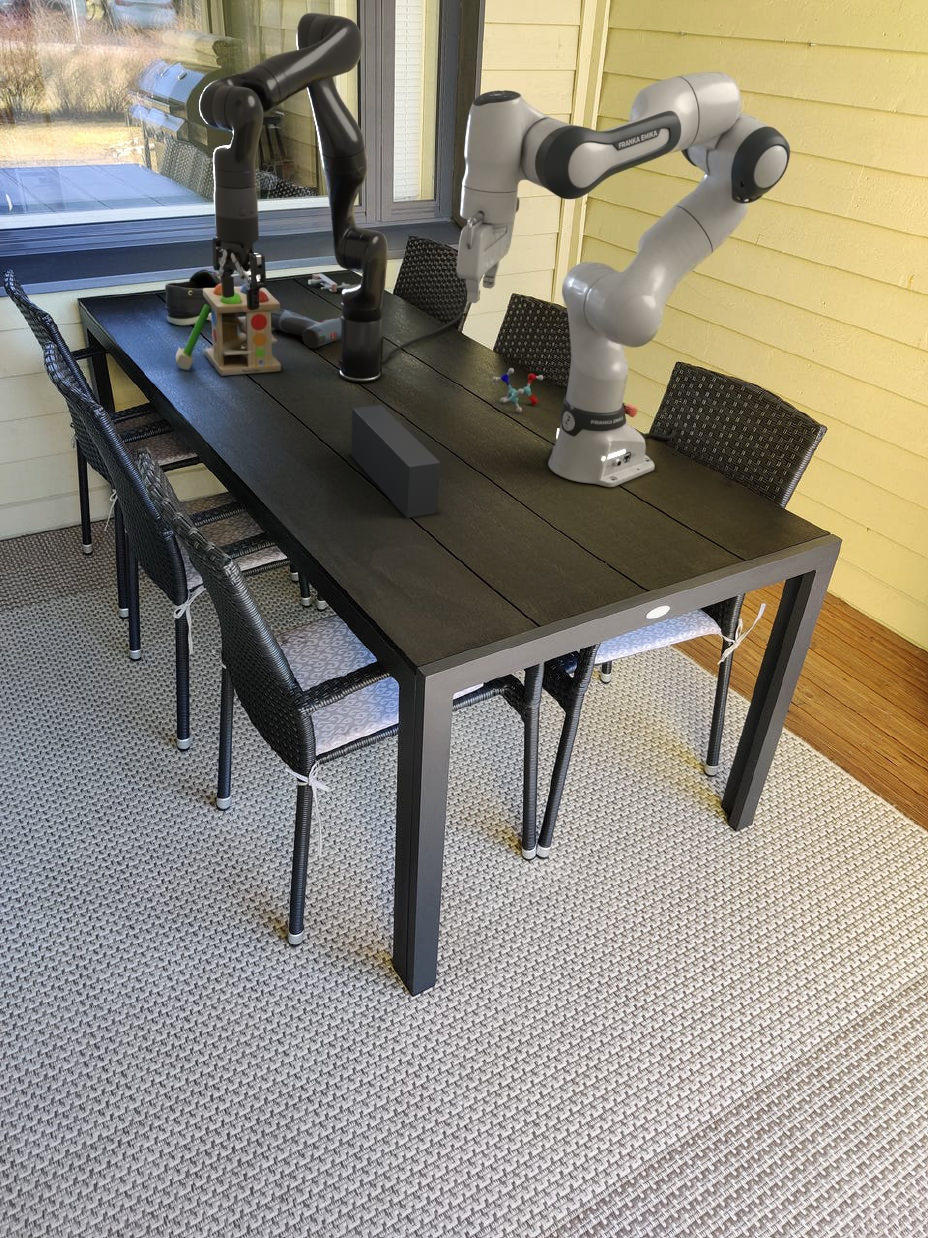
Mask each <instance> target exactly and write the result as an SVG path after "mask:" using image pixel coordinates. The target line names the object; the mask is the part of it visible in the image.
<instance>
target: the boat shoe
mask: <svg viewBox="0 0 928 1238" xmlns="http://www.w3.org/2000/svg"><path fill="white" fill-rule="evenodd" d="M232 276H233V277H234V287H242V286H243V285H244V284H245V282H244V280H243V279H242V278H240V276H239V274H235V275H232ZM249 280H250V282H251V277H249ZM221 283H222V281H221V276H219V272H218V273H217V271H212V270H207V269H200V270H198V271H196V272H194V273H193V274H192V275H191V276H190V278H189V279H188V280H187V281H180V282H167V283H166V284H165V285H164V289H165V295H166V296H165V306H164V310H165V311H166V312H167V313H166V318H167V322H168V323H170V324H173V325H176V326H190V325H195V324H196V322H197V320H198V318H199V316H200V314H201V311H202V309H203V307H204V305H208V306H210V307H211V305H210V304H209V302H208V301H207V300H206V299H205V297H204V296H203V289H204V288H215V287H216V286H217V285H218V284H221ZM209 314H211V310H210V312H209ZM206 321H210V320H209V318H207V320H206Z"/></svg>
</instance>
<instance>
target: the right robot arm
mask: <svg viewBox="0 0 928 1238" xmlns="http://www.w3.org/2000/svg"><path fill="white" fill-rule="evenodd" d="M741 109H742V95H741V90H740V88H739V85H738V83H737V82H736V80H735V79H734V78H733V77H732V76H730V75H729V74H727V73H725V72H720V71H705V72H704V71H703V72H693V73H687V74H681V75H676V76H673V77H669V78H665V79H662V80H659V81H657V82H653V83H652V84H650V85H647V86H646V87H644V88H642V89H641V90H639V92H638V93H637V94H636V96H635V97H634V99H633V102H632V104H631V107H630V111H629V120H628V122H624V123H622V124H619V125H616V126H613V127H610V128H607V129H604V130H595V129H592V128H589V127H585V126H582V125H581V126H580V125H575V124H571V123H568V122H565V121H562V120H559V119H556V118H553V117H551V116H549V115H547V114H545V113H543V112H541V111H540V110H538V109H537V108H535V107H533V105H531V104H530V103H528V102H527V101H526V100H525V99H524V97H523V96H522V94H521V93H519V92H517V91H514V90H507V89H506V90H492V91H491V90H490V91H487V92H484V93H482V94H480V95H479V96H477V97H475V98H474V100H473V101H472V103H471V106H470V108H469V111H468V117H467V123H466V129H465V140H464V152H463V153H464V154H463V156H464V161H465V162H464V163H465V171H464V175H463V178H462V181H461V194H460V208H459V214H460V217H461V218H462V219H463V220H467V221H466V225H464V227H463V228H462V229H461V231H460V236H459V243H458V250H457V251H458V252H457V259H456V276H457V277H458V278H459V279H462V280H465V286H466V287H465V288H466V292H467V294H466V295H467V296H466V301H467V302H468V303H470V304H477V303H478V302H479V301H480V299H481V290H480V282H481V280H482V287H483V288H485V289H490V290H491V289H493V288H494V287H495V285H496V277H497V273H498V270H499V267H500V261H501V260H502V259H503V258H504V257H506V256H507V255H508V253H509V250H510V248H511V244H512V238H513V231H514V226H515V220H516V214H517V213H518V212H519V210H520V205H521V204H520V202H521V200H520V197H519V196H518V194H519V193H518V191H519V184H520V182H521V181H528V182H530V183H532V184H534V185H536V186H539V187H542V188H544V189H546V190H547V191H548V192H551V193H552V194H553V195H554V196H557V197H558V198H560V199H563V200H576V199H580V198H582V197H584V196H586V195H587V194H589V193H590V192H592V191H593V190H595V188H596V187H598V186H600V184H602V183H603V182H604V181H606V180H607V179H608V178H610V177H612V176H614V175H616V174H619V173H621V172H624V171H627V170H630V169H632V168H635V167H638V166H640V165H643V164H645V163H646V164H647V163H649V162H651V161H653V160H656V159H658V158H661V157H663V156H665V155H670V154H673V153H677V152H681V154H682V155H683V157H684V158H685V159H686V160H687V161H688V163H689V164H691V165H692V166H694V167H696V168H698V169H700V170H701V171H702V172H703V173H704V174H703V176H702V178H701V180H700V182H699V183H698V185H696V188H695V189H693V190H692V191H690V192H689V193H688V194H686V196H684V197H683V198H681V199H680V200H679V201H678V202H677V203H676V204H674V205H673V206H672V207H671V208H670V209H669V210H668V211H667V212H665V214H663V215H662V216H661V217H660V218H659V219H657V221H655V223H653V224H652V225H651V226H649V228H647V230H645V231H644V232H643V233H642V235H641V236H640V237H639V240H638V244H637V247H638V249H637V250H638V251H637V253H636V255H635V256H634V257H633V259H632V260H631V262H630V263H629V265H628V266H627V267H626V268H625V269H624V270H623V271H619V270H617V269H616V268H614V267H612V266H610V265H609V264H606V263H601V262H595V261H583V262H580V263H578V264H575V265H574V266H573V267H572V268H571V269H569V271H568V272H567V274H566V276H565V277H564V279H563V283H562V286H561V296H562V299H563V302H564V305H565V307H566V311H567V317H568V329H569V342H570V367H569V374H568V382H567V390H566V395H565V396H564V397H563V402H562V406H561V407H562V408H561V412H560V413H561V414H560V419H561V420H560V421H561V423H560V426H559V428H557V430H556V440H555V444H554V446H553V447H552V451H551V454H550V456H549V459H548V462H547V465H548V468H549V469H550V470H551V471H552V472H553V473H555V474H556V475H558V476H559V477H562V478H564V479H566V480H570V481H573V482H577V483H584V484H585V483H586V484H593V485H599V486H602V487H606V488H615V487H617V486H619V485H622V484H624V483H626V482H629V481H631V480H634V479H636V478H638V477H640V476H643V475H646V474H648V473H650V472H653V471H654V470H655V462H654V461H653V460H652V459H651V458H650V457H649V456H648V455H646V451H647V449H646V448H647V445H646V442H647V440H646V438H653V439H657V440H662V441H668V440H672V439H674V438H675V437H676V435H677V433H679V432H680V431H678V430H677V432H676V430H673V429H672V432H671V434H669V435H663V434H657V433H651V432H646V433H643V432H640V431H639V430H637V429H636V428H635V427H633V426H632V424H630V423H629V422H628V421H627V416H626V415H628V416H629V417H631V418H635V417H636V415H637V414H638V407H635V406H633V405H632V404H627V405H626V404H625V403H624V398H625V391H626V386H627V381H628V376H629V363H628V359H627V356H626V353H625V350H624V347H628V348H639V347H643V346H645V345H647V344H649V343H650V342H651V341H653V340H654V338H655V337H656V335H657V334H658V332H659V331H660V330H661V327H662V324H663V319H664V309H665V306H666V304H667V302H668V301H669V299H670V298H671V296H672V294H673V293H674V292H675V290H676V289H677V288H678V286H679V285H680V284H681V283H682V282H683V281H684V280H685V279H686V278H687V277H688V276H689V275H690V274H691V273H693V271H695V270H696V269H697V268H698V267H699V266H700V265H701V264H703V262H705V260H706V259H708V258H709V257H710V256H711V255H712V254H713V253H714V252H716V250H718V249H719V248H720V247H721V246H722V245H723V244H724V243H725V242H726V240H728V239H729V237H730V236H731V235H732V234H733V233H734V232H735V231H736V229H737V228H738V227H739V225H740V224H741V223H742V222H743V220H744V219H745V217H746V215H747V214H748V210H749V204H751V203H754V202H756V201H758V200H760V199H761V198H762V197H763V195H765V194H767V193H768V192H770V191H771V190H772V188H774V187H775V186H776V185H777V184H778V183H779V182H780V181H781V179H783V176H784V175H785V173H786V171H787V169H788V166H789V162H790V159H791V157H790V156H791V147H790V144H789V141H788V140H787V139H786V137H785V136H784V135H783V134H782V133H781V132H780V131H778V130H777V129H776V128H775V127H774V126H769V125H768V124H766V123H765V122H763V121H761V120H760V119H758V118H756V117H754V116H752V115H751V114H749V113H744V112H742V111H741ZM482 277H483V278H482ZM481 278H482V279H481Z"/></svg>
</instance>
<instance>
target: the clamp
mask: <svg viewBox="0 0 928 1238" xmlns="http://www.w3.org/2000/svg"><path fill="white" fill-rule="evenodd" d="M307 283H308V285H317V284H320V285H322V286H323V287H322V286H321V287H320V290H329V292H331V293H336V292H338V290H337V289H344V288H345V287H347V286H350V285H351V284H350V283H345V282H344V281H342V283H341V285H338V283H336V282H335V281H333V280H332V279H330V278H329V277H327V276H326V275H325V274H323V273H313V274H312V279H308V280H307Z"/></svg>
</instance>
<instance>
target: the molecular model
mask: <svg viewBox="0 0 928 1238" xmlns="http://www.w3.org/2000/svg"><path fill="white" fill-rule="evenodd" d="M514 373H515V370H514V368H513V367H510V368H509V369H508V372H507V373H503V374H502V375H501V376H492V382H494V383H496V382H498V381H502V382H505V384H506V386H507V388H508V391H507V396H505V397H501V398H500V403H501V404H505V403H508V402H510V403H511V404H514V405H515V408H516V412H517V413H522V411H523V409H522V407H521V406H519V403H518V401H519V396H520V395H523V394H524V395H526V396H527V397H528V399H529V401H530V403H531V404H532V405H535V406H536V405H537V404H538V403H539V401H538V398H536V397H535V396H534V395H533V393H532V391H531V383H532V381H534V380H538V381H543V380H544V376H543V374H539V375H535V374H534V373H528V375H527V379H528V381H527V385H526V386H524V387H522V388H519V389H518V390H517V389H515V388H514V387H513V388H512V386H511V384H510V382H509V379H510V376H511V375H512V374H514Z"/></svg>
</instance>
